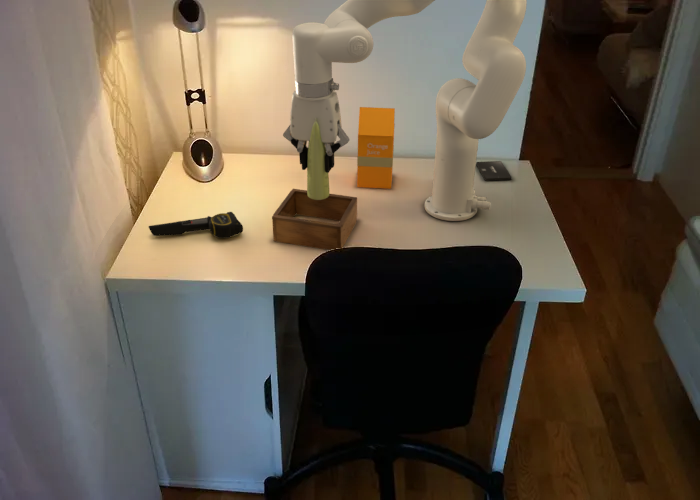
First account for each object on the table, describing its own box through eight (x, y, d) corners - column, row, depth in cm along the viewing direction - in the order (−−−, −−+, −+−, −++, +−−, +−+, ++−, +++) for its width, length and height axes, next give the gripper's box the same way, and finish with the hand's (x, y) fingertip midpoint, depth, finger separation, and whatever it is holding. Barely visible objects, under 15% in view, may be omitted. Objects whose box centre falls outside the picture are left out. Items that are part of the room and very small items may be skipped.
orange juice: (359, 173, 183) (360, 101, 173) (392, 175, 183) (395, 102, 172) (356, 187, 177) (357, 112, 166) (391, 189, 176) (394, 114, 165)
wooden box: (357, 221, 162) (357, 197, 159) (341, 252, 151) (341, 227, 148) (293, 212, 166) (292, 188, 162) (272, 241, 155) (271, 216, 151)
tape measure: (244, 237, 156) (243, 222, 154) (215, 244, 153) (213, 229, 151) (235, 223, 161) (233, 208, 159) (206, 229, 158) (204, 215, 156)
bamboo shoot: (336, 196, 154) (334, 112, 143) (319, 204, 151) (315, 119, 140) (319, 187, 157) (315, 105, 146) (302, 195, 154) (297, 112, 143)
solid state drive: (485, 180, 180) (485, 178, 180) (475, 164, 189) (476, 161, 188) (511, 179, 181) (512, 177, 180) (500, 163, 189) (501, 160, 189)
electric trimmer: (150, 233, 158) (148, 221, 156) (218, 223, 161) (217, 211, 159) (150, 242, 155) (148, 229, 153) (220, 231, 158) (219, 219, 156)
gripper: (359, 84, 141) (359, 165, 151) (280, 77, 145) (286, 157, 155) (349, 97, 135) (350, 180, 145) (267, 90, 139) (274, 172, 149)
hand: (317, 167), depth 150 cm, fingers closed on bamboo shoot, 4 cm apart
